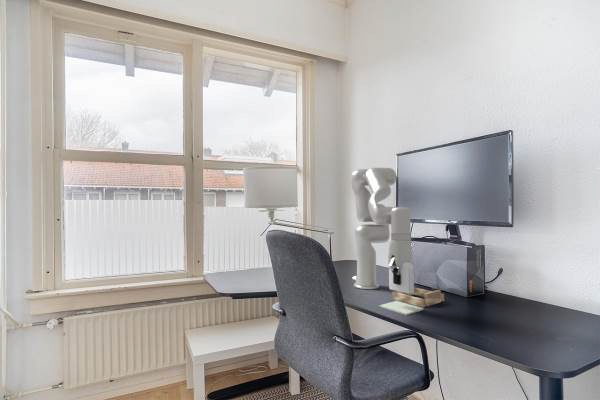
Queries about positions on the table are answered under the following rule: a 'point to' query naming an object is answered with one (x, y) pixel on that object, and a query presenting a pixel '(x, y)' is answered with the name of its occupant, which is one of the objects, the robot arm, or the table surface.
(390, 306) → the green mat
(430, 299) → the tray
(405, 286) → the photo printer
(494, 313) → the table surface
